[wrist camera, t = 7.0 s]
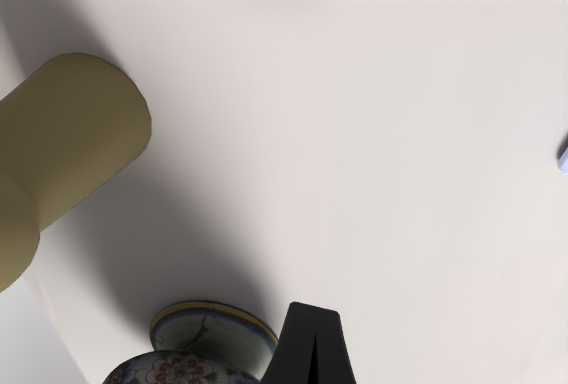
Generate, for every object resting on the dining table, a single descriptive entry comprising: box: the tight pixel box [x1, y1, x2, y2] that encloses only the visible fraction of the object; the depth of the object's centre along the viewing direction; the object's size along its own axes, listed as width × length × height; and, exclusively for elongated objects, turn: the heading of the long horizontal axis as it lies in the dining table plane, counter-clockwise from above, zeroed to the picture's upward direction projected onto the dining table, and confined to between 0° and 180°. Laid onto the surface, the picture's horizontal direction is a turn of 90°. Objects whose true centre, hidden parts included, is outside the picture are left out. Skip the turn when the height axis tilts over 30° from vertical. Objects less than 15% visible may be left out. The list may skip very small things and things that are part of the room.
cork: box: [0, 53, 151, 293], centre depth 17 cm, size 6×6×11 cm
